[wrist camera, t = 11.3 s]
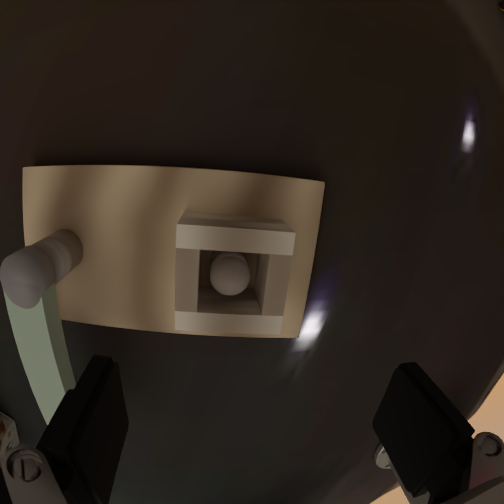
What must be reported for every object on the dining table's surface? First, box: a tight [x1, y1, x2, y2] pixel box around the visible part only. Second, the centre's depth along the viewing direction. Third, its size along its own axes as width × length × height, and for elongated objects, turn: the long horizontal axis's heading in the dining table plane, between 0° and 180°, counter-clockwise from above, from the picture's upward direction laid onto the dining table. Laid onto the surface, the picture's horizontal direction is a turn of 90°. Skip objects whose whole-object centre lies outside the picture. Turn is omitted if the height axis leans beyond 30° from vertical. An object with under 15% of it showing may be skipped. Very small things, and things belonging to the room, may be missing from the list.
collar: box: [175, 212, 296, 334], centre depth 19 cm, size 6×6×4 cm
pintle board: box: [23, 165, 325, 338], centre depth 19 cm, size 22×12×6 cm, turn 84°
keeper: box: [0, 246, 76, 425], centre depth 16 cm, size 3×18×2 cm, turn 174°
